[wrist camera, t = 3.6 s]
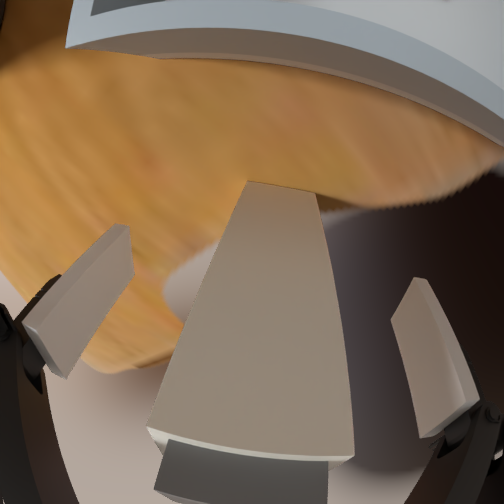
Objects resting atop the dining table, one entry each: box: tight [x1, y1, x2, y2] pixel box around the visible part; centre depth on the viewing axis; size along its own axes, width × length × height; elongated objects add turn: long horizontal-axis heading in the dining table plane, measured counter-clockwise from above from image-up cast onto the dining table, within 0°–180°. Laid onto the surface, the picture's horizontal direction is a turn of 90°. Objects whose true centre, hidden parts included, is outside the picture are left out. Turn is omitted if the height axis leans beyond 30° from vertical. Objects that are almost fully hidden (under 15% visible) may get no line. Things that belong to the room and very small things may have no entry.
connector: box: [146, 181, 355, 504], centre depth 11 cm, size 4×4×15 cm
